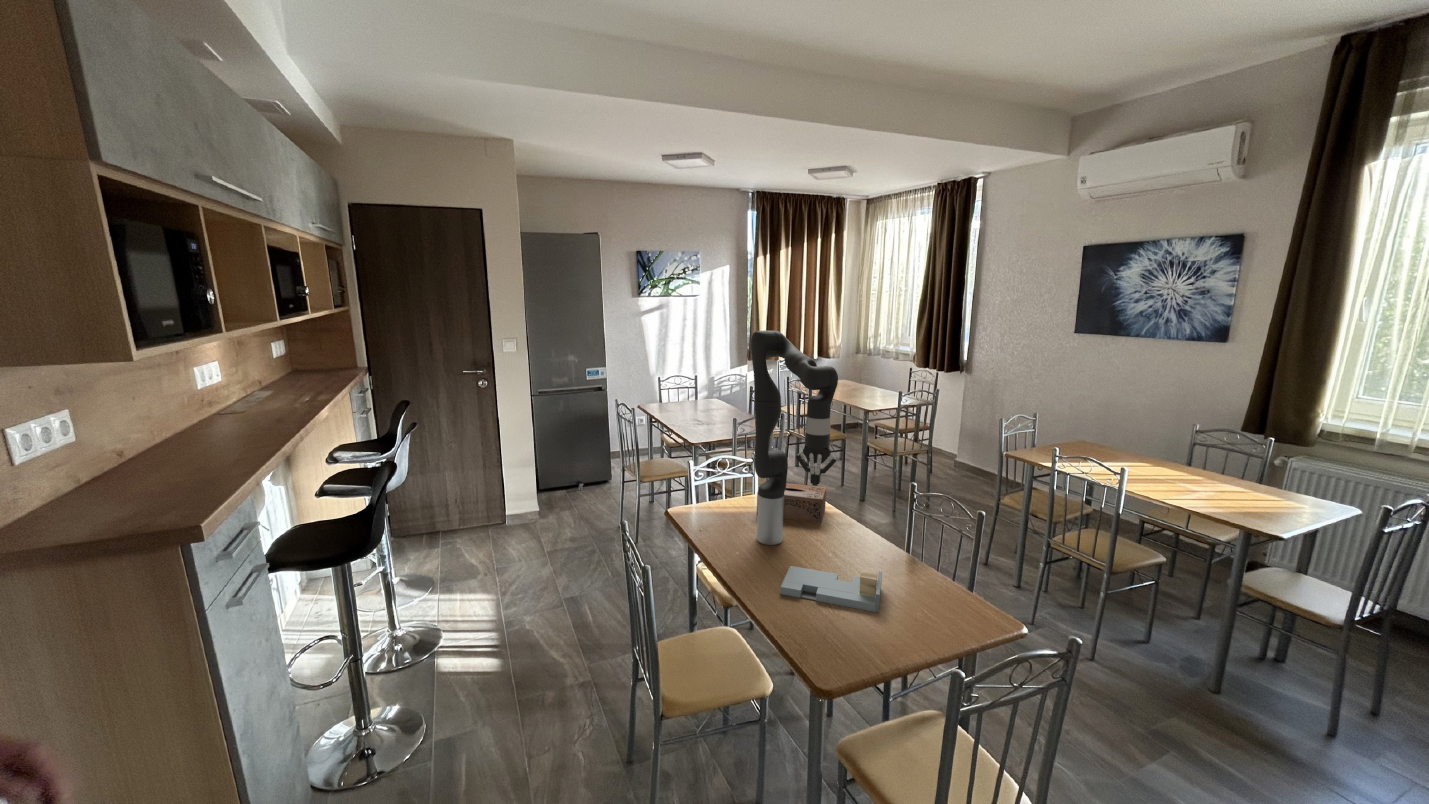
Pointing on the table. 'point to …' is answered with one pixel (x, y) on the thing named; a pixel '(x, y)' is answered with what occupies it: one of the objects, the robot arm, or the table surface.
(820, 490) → the tissue box cover
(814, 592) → the plate
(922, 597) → the table surface
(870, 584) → the beech block
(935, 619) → the table surface
